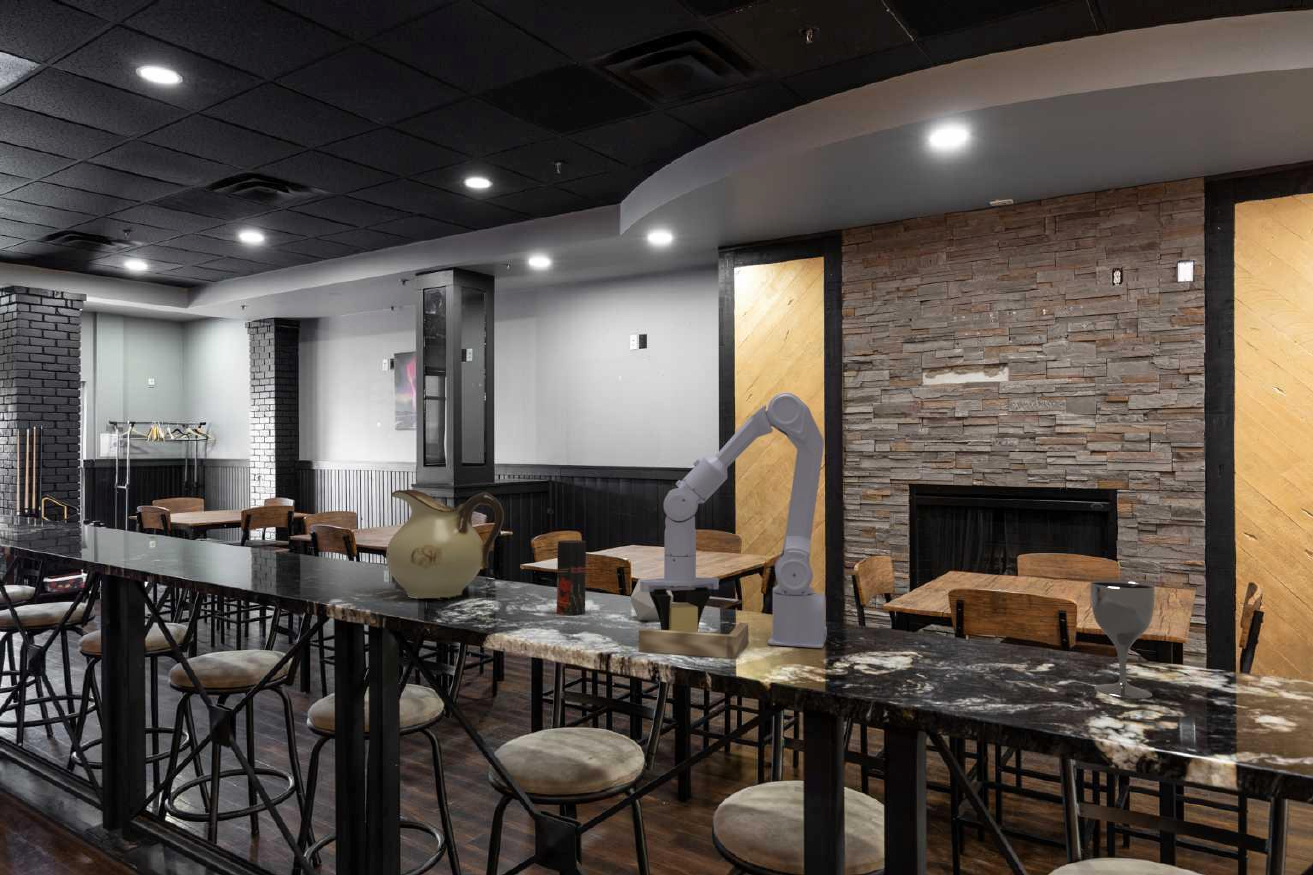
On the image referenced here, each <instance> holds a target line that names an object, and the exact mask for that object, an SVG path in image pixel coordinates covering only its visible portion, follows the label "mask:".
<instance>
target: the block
mask: <svg viewBox="0 0 1313 875" xmlns="http://www.w3.org/2000/svg"><path fill="white" fill-rule="evenodd" d="M669 631H683V632H698V631H699V626H698V607H697V606H694V605H692V604H690V602H672V603H670V607H669Z"/></svg>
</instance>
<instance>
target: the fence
mask: <svg viewBox="0 0 1313 875" xmlns="http://www.w3.org/2000/svg"><path fill="white" fill-rule="evenodd" d="M748 644H749V622H739V623H738V624H737V625H736V626H735V628H733V629H732V631H730V633H729V634H728V633H727V634H726V633H712V632H711V633H710V632H683V631H668V630H661V629H654V628H651V629H650V628H640V629H639V630H638V652H639V653H640V652H641V653H655V654H668V655H682V656H694V657H695V656H697V657H707V658H708V657H710V658H722V659H737V658H738V657H739V656H740V655H741V653H742V652H743V651H744V649H745V648H746V647H747V645H748Z"/></svg>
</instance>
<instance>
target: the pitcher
mask: <svg viewBox="0 0 1313 875" xmlns="http://www.w3.org/2000/svg"><path fill="white" fill-rule="evenodd" d="M391 497H393V498H396V499H398V500H399V499H400V500H402V501H404V502H405V503H407V505H409V507H410V511H411V513H410V516H409V518H408V519H407V521H405V523H404V524H403V525H402V526H401V527H400V528H399V529H398V530H397V531H396V532H395V534H394V535H393V536H392V537H391V539H390V541H389V543H388V545H387V546H386V547H387V548H386V553H385V558H386V559H385V560H386V564H387V568H388V570H389V572H390V573H391V575H392V577H393V578H394V580H395V581H396V582H397V583H398V585H399V586H400V587H401V588H402V589H404V590H405V593H406V596H407V595H409V596H411V597H419V598H440V597H450V596H456V595H460V596H462V595H463V591H464V589H465V588H466V587H468V585H470V584H471V583H472V581H474V579H475V578H476V577H477V575H478V574H479V572H480V570H481V568H482V567H483V568H485V569H488V568H489V561H488V560H489V555H490V551H491V550H490V549H491V547H492V545H493V543H494V541H495V540H496V538H497V536H498V535H499V533H500V531H501V529H502V526H503V524H504V520H505V514H504V513H505V512H504V509H503V507H502V505H501V503H500V501H499V500H498V499H497V498H496V497H494V496H493V495H492V494H491V493H489V492H487V491H483V492H480V493H478V494H476V495H473V496H472V497H469V499H468V500H466V502H465V503H461V504H459V505H458V506H457V507H452V506H449V505H446V504H444V503H443V502H441V501H439V500H437V499H436V498H434V497H433V496H432V495H431V496H430V495H429V494H427V493H425V492H422V491H419V490H415V489H412V488H411V489H409V488H408V489H403V490H402V489H399V490H398V489H397V490H395V491H393V492H392V493H391ZM479 505H484V506H489V507H491V508H492V509H493V512H494V516H495V517H494V518H495V520H494V524H493V525H492V526H493V527H492V528H491V531H490V533H489V535H488V537H487V538H486V540H485V542H484V543H483V541H482V539H481V538H482V537H480V535H479V533H478V532H477V530H475V528H474V527H473V523H472V521H473V520H472V518H473V517H472V516H473V514H474V511H475V509H476V508H477V507H479Z"/></svg>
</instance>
